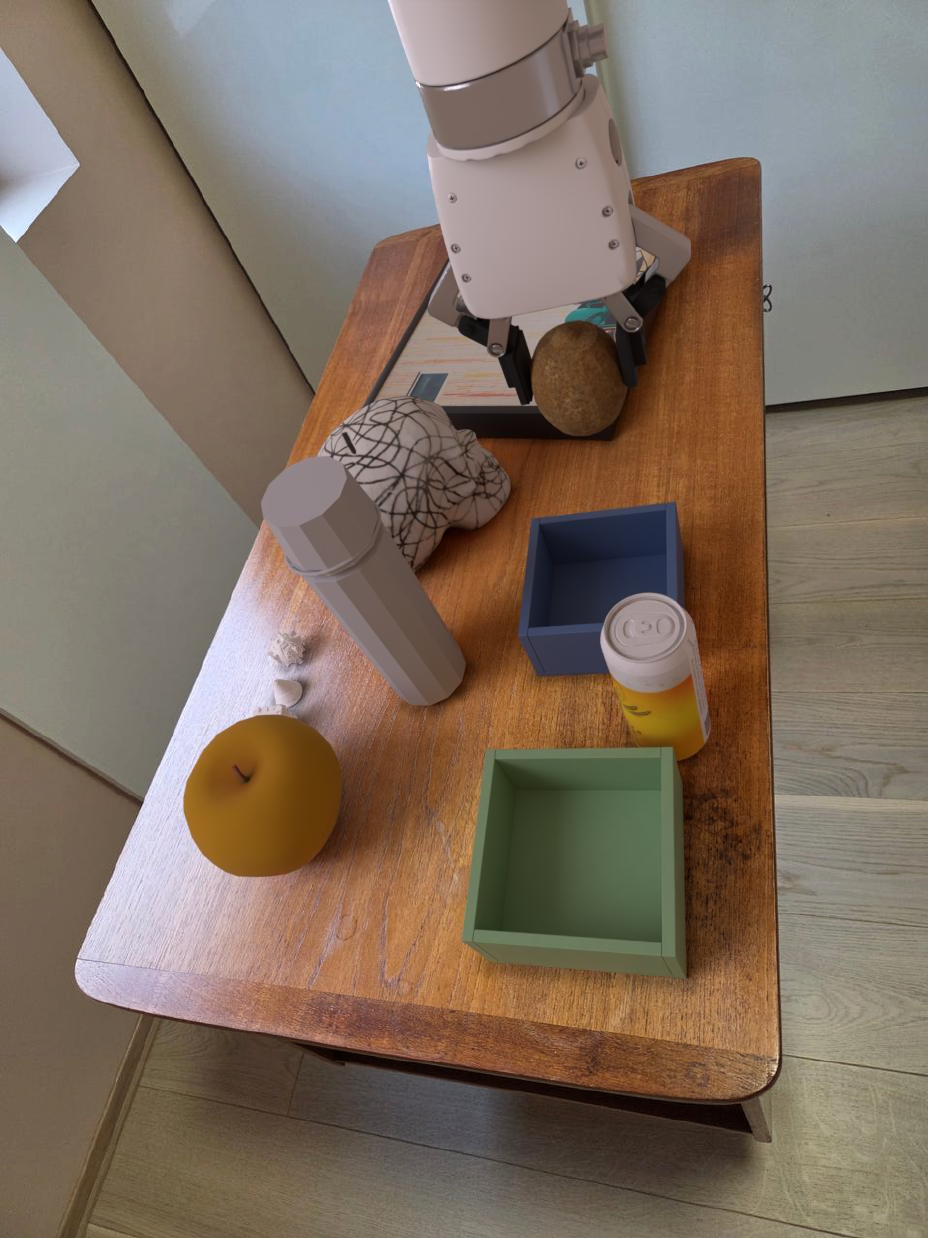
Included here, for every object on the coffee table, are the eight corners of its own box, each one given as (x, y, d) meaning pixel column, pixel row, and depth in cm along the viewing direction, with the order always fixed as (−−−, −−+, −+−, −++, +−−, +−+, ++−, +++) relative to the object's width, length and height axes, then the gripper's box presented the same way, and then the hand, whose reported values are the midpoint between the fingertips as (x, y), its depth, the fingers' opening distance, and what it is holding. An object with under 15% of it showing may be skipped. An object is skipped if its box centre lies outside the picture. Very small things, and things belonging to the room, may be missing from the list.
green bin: (682, 783, 58) (673, 746, 53) (686, 979, 51) (675, 957, 46) (509, 783, 63) (485, 749, 58) (490, 962, 56) (461, 941, 51)
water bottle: (487, 675, 70) (373, 483, 50) (416, 728, 69) (273, 554, 50) (437, 615, 75) (318, 423, 56) (371, 664, 75) (228, 486, 55)
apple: (366, 738, 70) (306, 675, 61) (378, 878, 62) (311, 829, 53) (239, 777, 72) (164, 722, 63) (235, 918, 64) (148, 877, 55)
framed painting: (605, 413, 78) (358, 412, 92) (611, 440, 81) (371, 436, 95) (672, 233, 92) (448, 256, 106) (675, 262, 95) (457, 280, 109)
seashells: (296, 747, 72) (279, 732, 69) (265, 752, 73) (246, 737, 70) (312, 640, 79) (296, 623, 76) (283, 646, 80) (267, 629, 77)
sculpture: (528, 557, 76) (481, 446, 64) (342, 614, 80) (267, 519, 68) (505, 455, 85) (461, 342, 74) (340, 511, 89) (273, 412, 77)
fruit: (617, 462, 51) (589, 363, 45) (534, 454, 54) (498, 361, 48) (651, 396, 53) (629, 294, 47) (569, 392, 56) (539, 296, 50)
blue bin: (683, 549, 70) (675, 501, 65) (686, 669, 64) (678, 626, 59) (548, 562, 75) (531, 518, 70) (537, 676, 68) (517, 636, 63)
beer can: (632, 697, 64) (598, 591, 52) (709, 694, 62) (692, 583, 50) (631, 766, 60) (595, 669, 49) (713, 765, 58) (695, 664, 47)
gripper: (687, -7, 36) (716, 321, 50) (358, 102, 42) (465, 367, 56) (687, 65, 32) (719, 400, 46) (324, 174, 38) (448, 441, 52)
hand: (579, 380), depth 51 cm, fingers closed on fruit, 6 cm apart
